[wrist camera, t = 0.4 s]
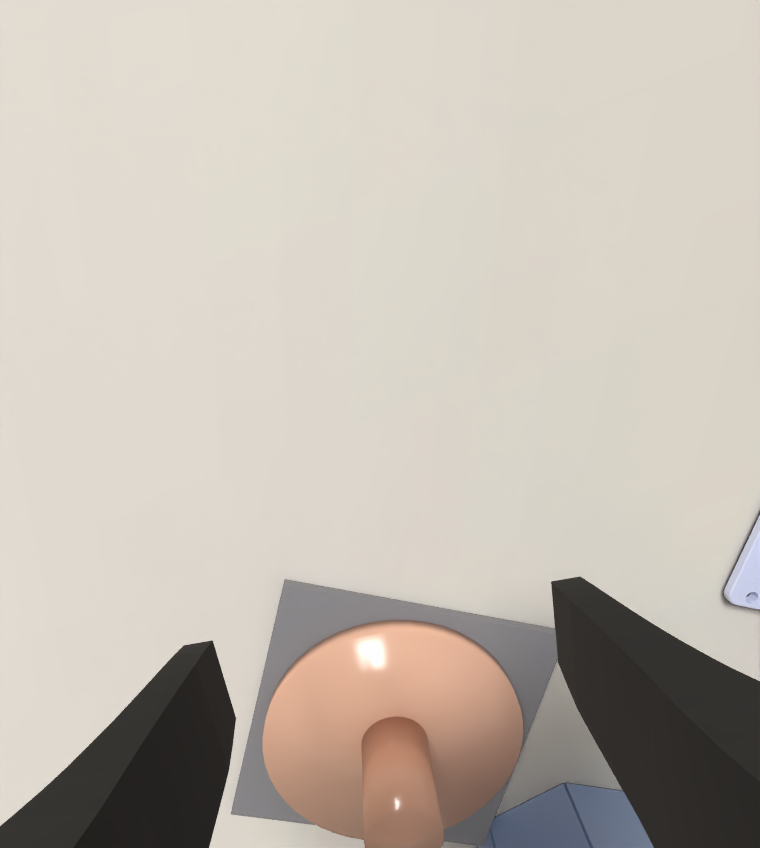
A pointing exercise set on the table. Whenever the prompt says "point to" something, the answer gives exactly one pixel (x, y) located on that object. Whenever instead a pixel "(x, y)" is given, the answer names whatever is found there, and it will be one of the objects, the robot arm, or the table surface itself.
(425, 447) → the table surface
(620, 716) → the robot arm
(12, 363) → the table surface
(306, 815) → the lid
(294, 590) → the mat
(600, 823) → the bowl
